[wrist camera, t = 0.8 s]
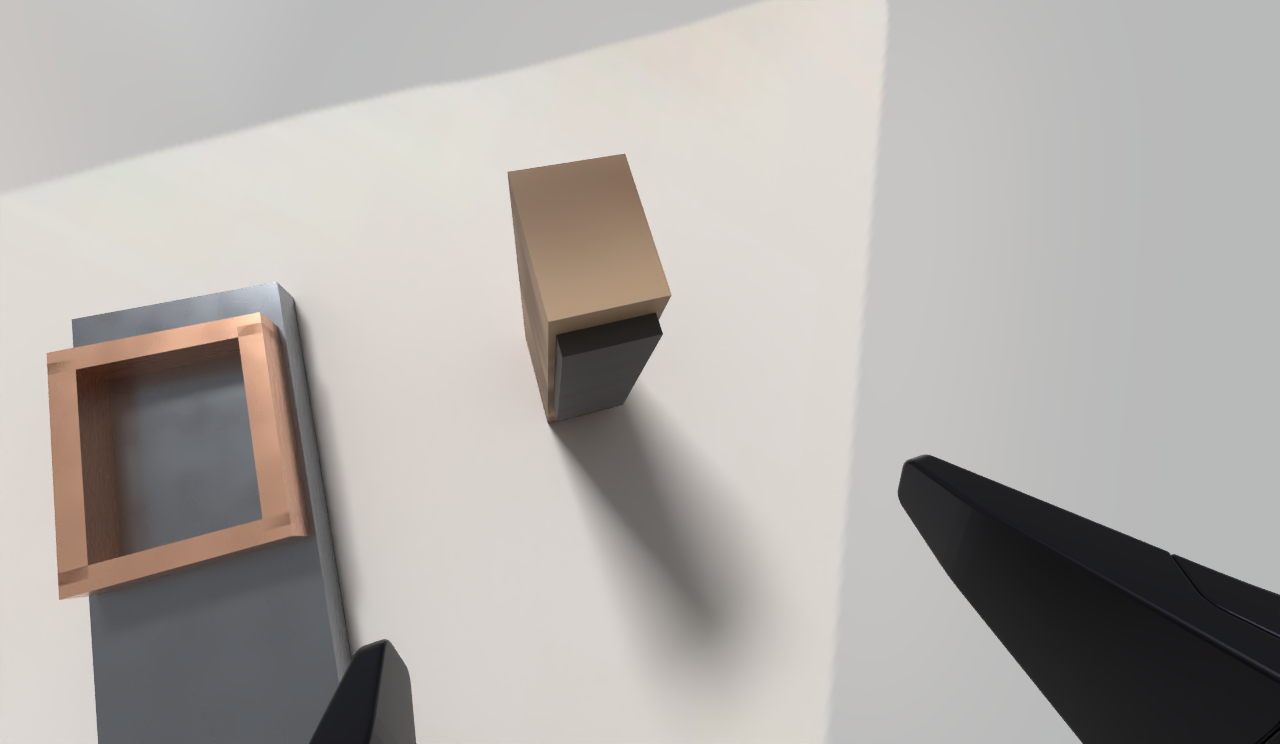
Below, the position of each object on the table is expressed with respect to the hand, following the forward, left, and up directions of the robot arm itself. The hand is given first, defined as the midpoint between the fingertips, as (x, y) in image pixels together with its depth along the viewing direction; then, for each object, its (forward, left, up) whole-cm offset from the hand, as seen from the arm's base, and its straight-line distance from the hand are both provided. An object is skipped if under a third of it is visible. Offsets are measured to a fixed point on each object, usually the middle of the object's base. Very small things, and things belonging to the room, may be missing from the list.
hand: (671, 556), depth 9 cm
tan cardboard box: (+7, -1, -15) cm, 16 cm away
